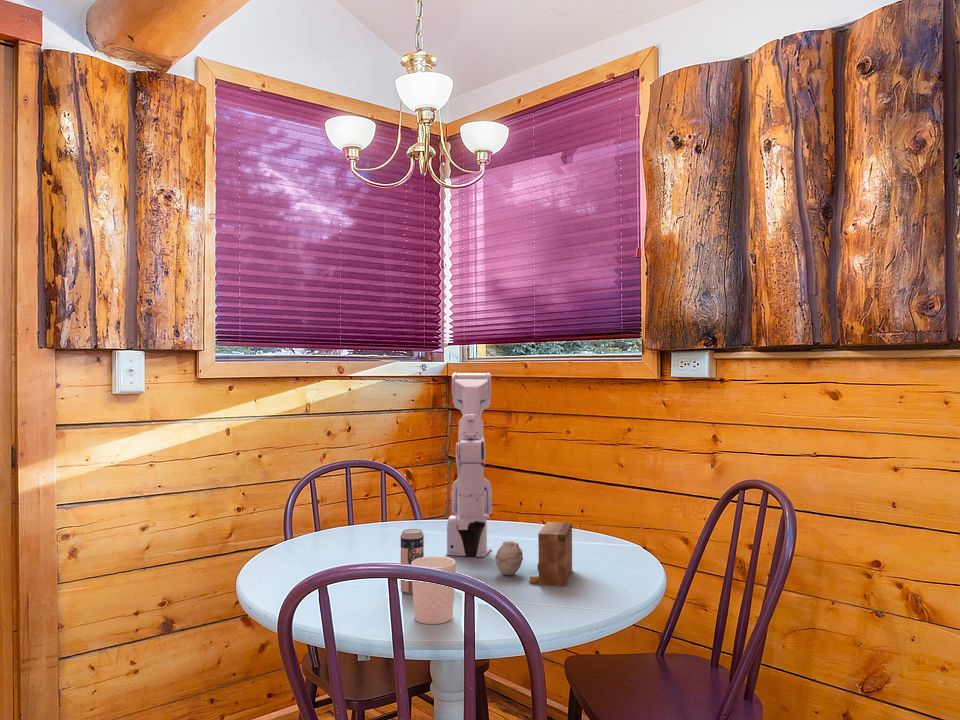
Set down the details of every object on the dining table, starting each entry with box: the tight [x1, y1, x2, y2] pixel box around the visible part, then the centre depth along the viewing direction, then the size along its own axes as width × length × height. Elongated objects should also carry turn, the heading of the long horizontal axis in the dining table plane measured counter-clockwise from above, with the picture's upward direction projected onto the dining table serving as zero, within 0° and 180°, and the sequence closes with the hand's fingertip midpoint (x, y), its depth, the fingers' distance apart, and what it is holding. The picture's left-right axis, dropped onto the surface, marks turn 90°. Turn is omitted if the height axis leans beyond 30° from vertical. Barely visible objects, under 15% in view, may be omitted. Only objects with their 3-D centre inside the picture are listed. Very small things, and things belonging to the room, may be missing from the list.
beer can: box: [399, 528, 425, 595], centre depth 143 cm, size 5×5×12 cm
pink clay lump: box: [494, 540, 524, 576], centre depth 154 cm, size 6×7×7 cm
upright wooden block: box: [529, 521, 573, 587], centre depth 152 cm, size 8×12×10 cm, turn 166°
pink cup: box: [411, 555, 456, 625], centre depth 127 cm, size 8×8×10 cm
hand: (471, 556), depth 156 cm, fingers closed
